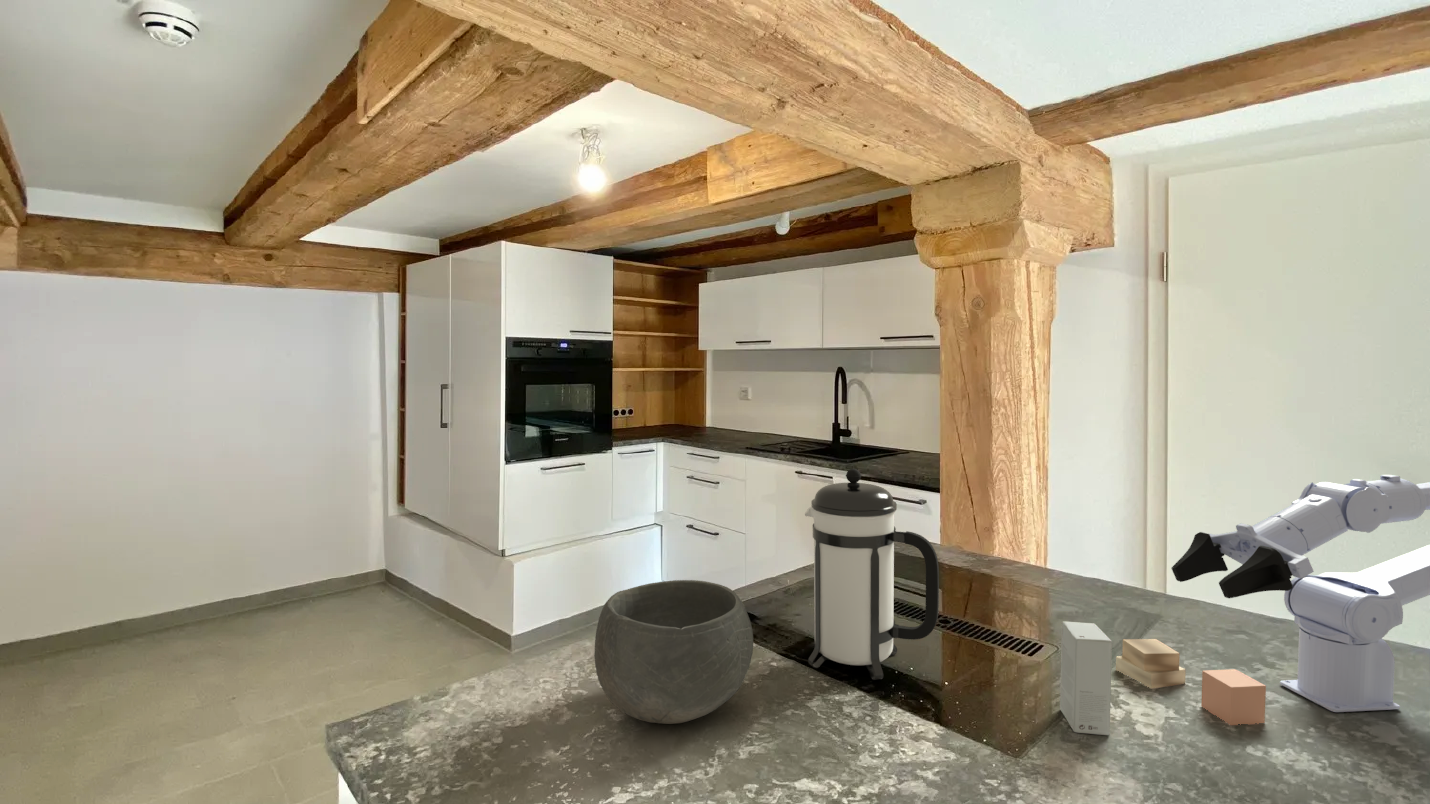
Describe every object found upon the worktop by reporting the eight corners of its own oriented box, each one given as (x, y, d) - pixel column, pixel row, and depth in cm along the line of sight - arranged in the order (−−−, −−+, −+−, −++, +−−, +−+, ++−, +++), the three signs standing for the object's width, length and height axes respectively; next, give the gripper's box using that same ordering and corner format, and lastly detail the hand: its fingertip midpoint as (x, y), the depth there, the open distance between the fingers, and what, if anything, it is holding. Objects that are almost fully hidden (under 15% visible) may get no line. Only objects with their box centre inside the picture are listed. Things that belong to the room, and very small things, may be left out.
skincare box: (1111, 737, 82) (1113, 641, 81) (1073, 733, 83) (1075, 639, 82) (1093, 711, 88) (1095, 622, 87) (1058, 708, 89) (1060, 620, 88)
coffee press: (831, 692, 94) (830, 480, 92) (791, 645, 110) (790, 463, 108) (941, 677, 98) (942, 474, 97) (888, 634, 114) (888, 459, 112)
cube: (1234, 705, 89) (1235, 669, 89) (1264, 724, 85) (1265, 685, 84) (1201, 707, 89) (1202, 670, 89) (1230, 726, 84) (1231, 687, 84)
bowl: (731, 665, 103) (729, 569, 102) (775, 739, 82) (774, 620, 82) (591, 683, 98) (589, 582, 97) (602, 766, 77) (599, 639, 77)
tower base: (1148, 668, 101) (1149, 652, 101) (1185, 686, 95) (1185, 669, 95) (1115, 673, 100) (1116, 656, 100) (1150, 691, 94) (1151, 674, 94)
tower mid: (1155, 655, 100) (1156, 639, 100) (1179, 670, 95) (1179, 653, 95) (1122, 655, 100) (1122, 639, 100) (1143, 670, 95) (1144, 653, 95)
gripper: (1226, 500, 96) (1145, 543, 95) (1328, 518, 81) (1235, 569, 80) (1245, 544, 96) (1165, 587, 95) (1350, 570, 82) (1257, 621, 81)
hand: (1198, 582), depth 88 cm, fingers open, 7 cm apart
